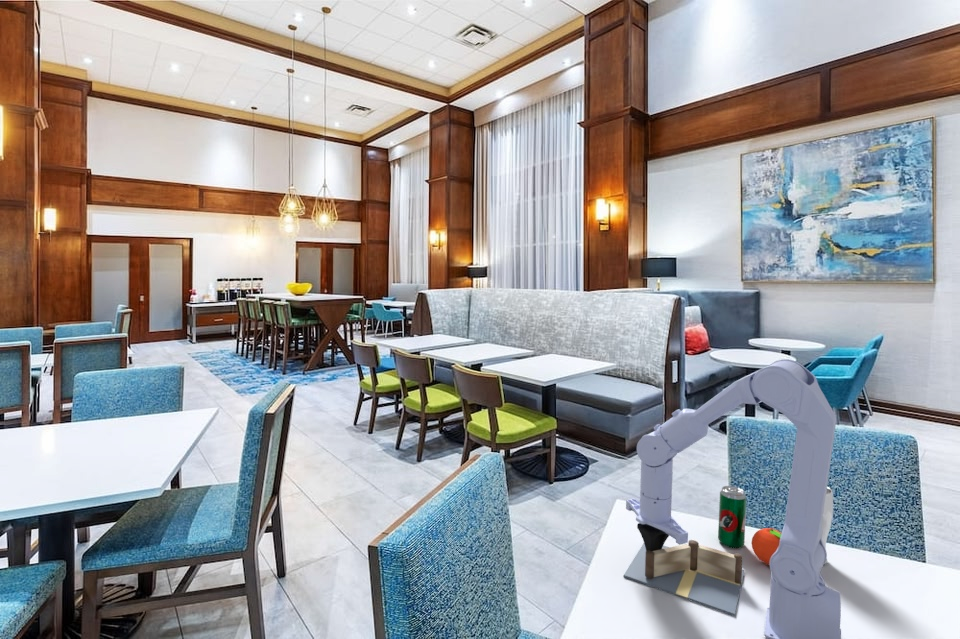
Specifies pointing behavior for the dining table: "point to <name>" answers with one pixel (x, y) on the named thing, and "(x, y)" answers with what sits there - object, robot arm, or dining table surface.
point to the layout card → (689, 585)
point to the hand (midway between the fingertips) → (653, 560)
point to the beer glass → (827, 516)
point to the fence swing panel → (667, 560)
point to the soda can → (732, 517)
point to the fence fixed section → (716, 562)
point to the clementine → (765, 543)
